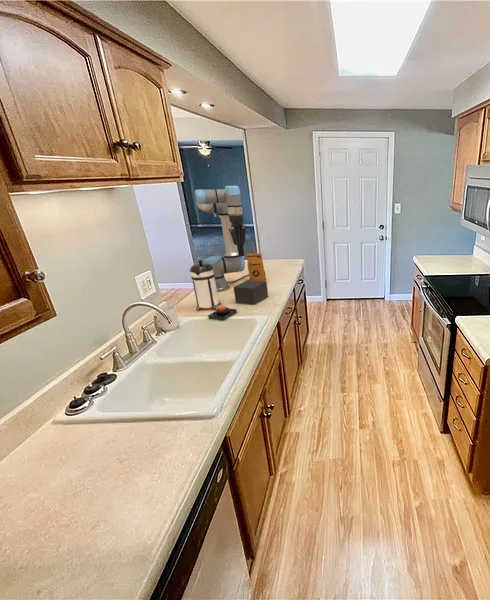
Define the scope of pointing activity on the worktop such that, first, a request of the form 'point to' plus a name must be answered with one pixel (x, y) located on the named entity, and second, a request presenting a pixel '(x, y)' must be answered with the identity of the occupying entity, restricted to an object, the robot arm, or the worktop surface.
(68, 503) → the worktop surface
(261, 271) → the coffee package
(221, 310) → the button
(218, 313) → the panel
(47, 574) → the worktop surface
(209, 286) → the coffee press
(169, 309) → the mug
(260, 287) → the dark grey box
